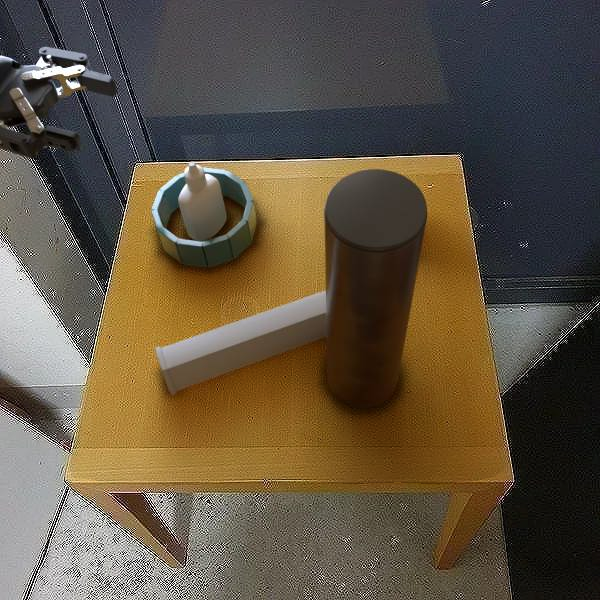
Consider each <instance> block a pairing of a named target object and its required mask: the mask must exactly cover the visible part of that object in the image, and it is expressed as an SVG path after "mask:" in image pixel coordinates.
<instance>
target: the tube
mask: <svg viewBox="0 0 600 600" xmlns="http://www.w3.org/2000/svg"><path fill="white" fill-rule="evenodd" d="M324 338H327V331H326V289H325V290H322V291H319V292H316V293H314V294H310V295H307V296H305V297H302V298H300V299H299V298H298V299H296V300H293V301H291V302H288V303H285V304H282V305H279V306H277V307H274V308H271V309H267V310H265V311H262V312H259V313H256V314H254V315H250V316H248V317H244V318H241V319H239V320H237V321H234V322H231V323H228V324H226V325H222V326H219V327H217V328H214V329H211V330H208V331H206V332H202V333H200V334H196V335H194V336H191V337H189V338H185V339H183V340H180V341H176V342H174V343H172V344H168V345H166V346H162V347H161V345H159V346H156V347H155V349H154V350H155V354H156V357H157V360H158V364H159V368H160V370H161V373H162V376H163V379H164V380H165V381H164V382H165V383H166V387H167V389H168V391H169V393H170V395H171V396H174V395H176V394H177V392H179V391H182V390H184V389H186V388H190V387H192V386H196V385H198V384H201V383H203V382H207V381H209V380H211V379H214V378H217V377H219V376H222V375H225V374H229V373H230V372H231V373H232V372H233V371H236V370H238V369H239V370H240V369H242V368H244V367H247V366H250V365H252V364H256V363H259V362H261V361H264V360H266V359H269V358H273V357H274V356H275V357H276V356H277V355H280V354H283V353H286V352H288V351H292V350H294V349H297V348H299V347H302V346H305V345H307V344H311V343H313V342H316V341H318V340H321V339H324Z"/></svg>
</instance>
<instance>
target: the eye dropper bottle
mask: <svg viewBox="0 0 600 600" xmlns="http://www.w3.org/2000/svg"><path fill="white" fill-rule="evenodd" d="M183 173H184V177H185V180H186V185H185V186H184V188H183V189H182V191H181V193H180V195H179V198H178V202H179V210H180V213H181V216H182V220H183V223H184V227H185V230H186V233H187V235H188V237H189V238H190V239H192V240H193V241H201V242H203V241H206V240H210V239H212V238H213V237H214V236H216V234H218V233H219V232H220V231H221V230H222V228H223V227H224V225H225V223H226V221H227V219H228V218H227V211H226V205H225V202H224V196H222V192H221V188H220V184H219V181H218V180H217V179H216V178H215V177H213V176H212V175H210V174H205V172H204V169H203V166H201V165H198V164H196V163H195V162H194V161H190V162H189V163H188V166H187V167H186V168H185V169H184V171H183Z"/></svg>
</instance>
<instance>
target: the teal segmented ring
mask: <svg viewBox="0 0 600 600" xmlns="http://www.w3.org/2000/svg"><path fill="white" fill-rule="evenodd" d="M202 168H203V169H204V172H205V174H210V175H212V176H213V177H215V178H216V179H217V180H218V181H219V184H220V188H221V192H222V196H223V197H227V198H230V199H231V200H233V201H234V202H236V203H238V204H239V205H240V206H242V207H243V208H244V212H243V215H242V219H241V220H240V221H239V222H238V223H237V224H236V225H235V226H233V228H231V230H229V231H228V232H227V233H226V234H223V235H220V236H217V237H212V238H209V239H207V240H205V241H202V242H201V241H195V240H194V239H192V240H191V239H184V238H179V237H177V236H176V235H175V234H173V233H172V232H171V231H170V230H169V229H167V226H168V223H169V220H170V218H171V215H172V213H173V212H175V211H176V210H177V209H178V208H180V206H179V202H178V198H179V195H180V193H181V191H182V189H183V188H184V186H185V185H186V180H185V177H184V172H181V173H178V174H176V175H174V177H173V178H171V179H169V180H168V182H166V183H165V184H164V185H162V187H160V188H159V189H158V191H157V193H156V196H155V198H154V201H153V203H152V206H151V208H150V209H151V216H152V218H153V222H154V224H155V228H156V231H157V234H158V237H159V240H160V243H161V245H162V248H163V250H164V252H165V253H167V254H168V255H169V256H171V257H172V258H173V259H174V260H176V261H177V262H179V263H180V264H181V265H182V264H183V265H184V266H192V267H199V268H212V267H215V266H218V265H222V264H225V263H228V262H232V261H233V260H235V259H236V258H237V257H238V256H240V255H241V253H242V252H244V251H245V250H246V249H247V248H248V247H249V246H250V245H251V244H252V243H253V239H254V236H255V232H256V228H257V224H258V221H257V220H258V219H257V213H256V208H255V201H254V198H253V196H252V195H253V194H251V193H252V192H251V190H250V188H249V186H248V183H247V182H246V181H245V180H243V179H242V178H241V177H239V176H237V175H236V174H234V173H232V172H231V171H229V170H227V169H221V168H214V167H213V168H212V167H203V166H202Z"/></svg>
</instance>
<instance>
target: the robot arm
mask: <svg viewBox="0 0 600 600" xmlns="http://www.w3.org/2000/svg"><path fill="white" fill-rule="evenodd" d="M38 52H39V55H40V58H39V60H38V61H37V63H36V64H32V65H24V64H21V63H20V62H18V61H16V60H15V59H12V58H10V57H7V56H3V55H0V150H4V151H6V152H9V153H13V154H14V155H15V154H16V155H19V156H22V157H25V158H27V159H35V158H37V157H38V155H39V151H40V150H41V149H46V148H53V149H58V150H61V151H64V152H74V151H77V152H79V151H81V149H82V148H83V146H84V144H83V141H82V139H81V136H80V135H79V134H78V133H76V132H75V131H71V130H67V129H63V128H60V127H55V126H52V125H46V127H45V126H44V125H43V124H42V122H41V120H43V119H47V117H48V116H49V115H50V112H51V109H52V108H54V106H55V105H57V103H58V102H59V100H60V99H63V98H67V97H70V96H72V95H73V93H74V92H77V91H81V90H85V89H86V91H88V92H91V93H96V94H100V95H104V96H108V97H113V98H114V97H116V95H117V94H118V92H119V90H118V87H117V85H116V82H115V80H114V79H113V77H112V76H111V75H110V74H105V73H102V72H97V71H93V68H92V67H91V64H90V62H89V59H88V56H87V54H86V53H82V52H77V51H71V50H67V49H66V50H65V49H60V48H56V47H55V48H54V47H49V46H42V47H40V48H39V50H38ZM73 78H76V79H75V80H72V81H69V79H73ZM53 80H57V81H58V82H59V84H60V87H56V85H55V83H54V82H53ZM22 125H26V126H27V128H28V129H29V131H30V133H29V134H25V133H23V132H20V131H16V130H14V129H10V128H14V127H15V128H16V127H18V126H22Z"/></svg>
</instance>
